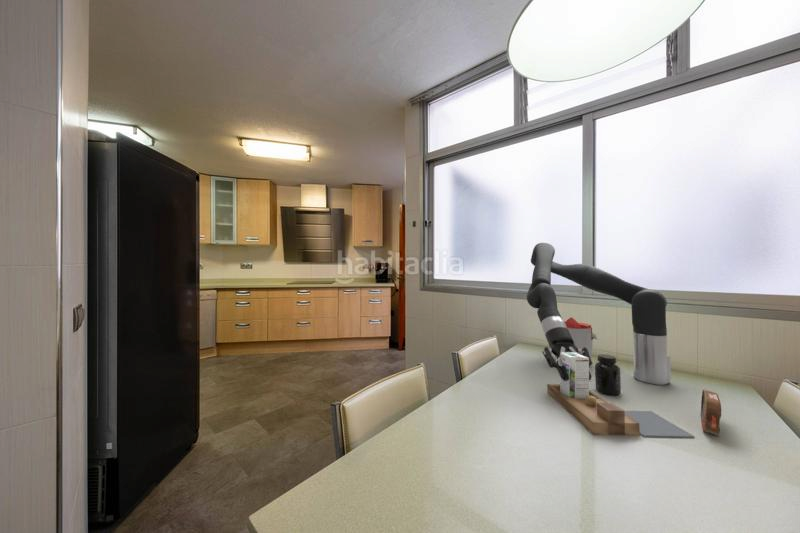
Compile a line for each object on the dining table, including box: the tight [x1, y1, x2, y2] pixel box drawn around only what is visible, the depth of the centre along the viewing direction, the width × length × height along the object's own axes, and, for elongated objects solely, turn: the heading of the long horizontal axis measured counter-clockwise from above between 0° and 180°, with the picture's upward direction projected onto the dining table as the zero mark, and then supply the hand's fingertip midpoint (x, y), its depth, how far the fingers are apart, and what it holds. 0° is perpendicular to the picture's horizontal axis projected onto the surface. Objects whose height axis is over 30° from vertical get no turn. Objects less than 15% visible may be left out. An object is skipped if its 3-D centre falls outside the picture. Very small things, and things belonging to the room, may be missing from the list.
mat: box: [624, 410, 696, 439], centre depth 73 cm, size 12×12×1 cm
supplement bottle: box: [594, 353, 622, 397], centre depth 92 cm, size 7×7×12 cm
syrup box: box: [559, 352, 590, 399], centre depth 85 cm, size 6×6×14 cm
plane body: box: [546, 383, 641, 436], centre depth 79 cm, size 11×23×6 cm, turn 178°
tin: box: [700, 389, 722, 436], centre depth 71 cm, size 15×3×8 cm, turn 134°
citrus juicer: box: [554, 317, 599, 358], centre depth 121 cm, size 16×17×20 cm
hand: (577, 379), depth 84 cm, fingers closed on syrup box, 6 cm apart
